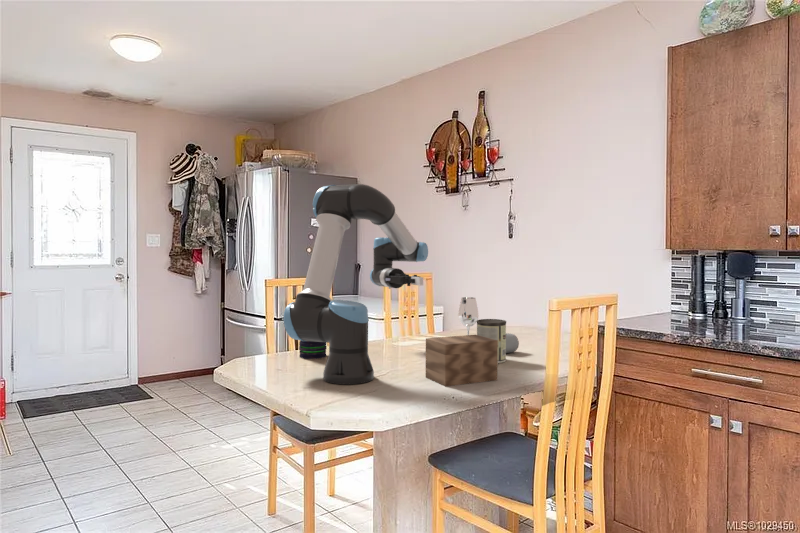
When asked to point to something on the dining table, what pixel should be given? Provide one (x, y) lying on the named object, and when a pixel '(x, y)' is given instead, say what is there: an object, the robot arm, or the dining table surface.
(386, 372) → the dining table surface
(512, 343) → the ceramic mug
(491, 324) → the coffee can
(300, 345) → the storage jar
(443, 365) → the block
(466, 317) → the wineglass
